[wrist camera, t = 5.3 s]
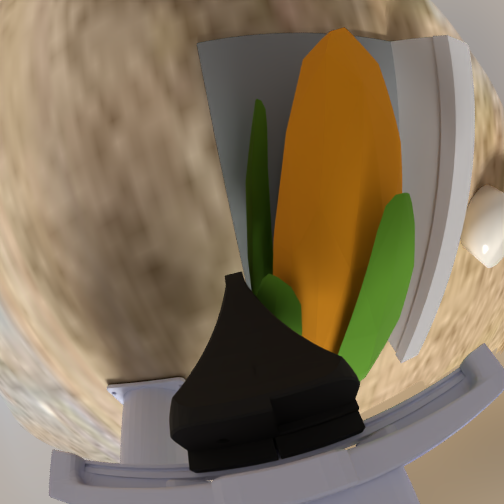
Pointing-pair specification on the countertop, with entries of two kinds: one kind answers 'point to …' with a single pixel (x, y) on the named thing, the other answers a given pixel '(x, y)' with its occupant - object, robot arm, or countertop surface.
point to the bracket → (410, 131)
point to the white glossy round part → (485, 226)
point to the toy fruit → (333, 208)
